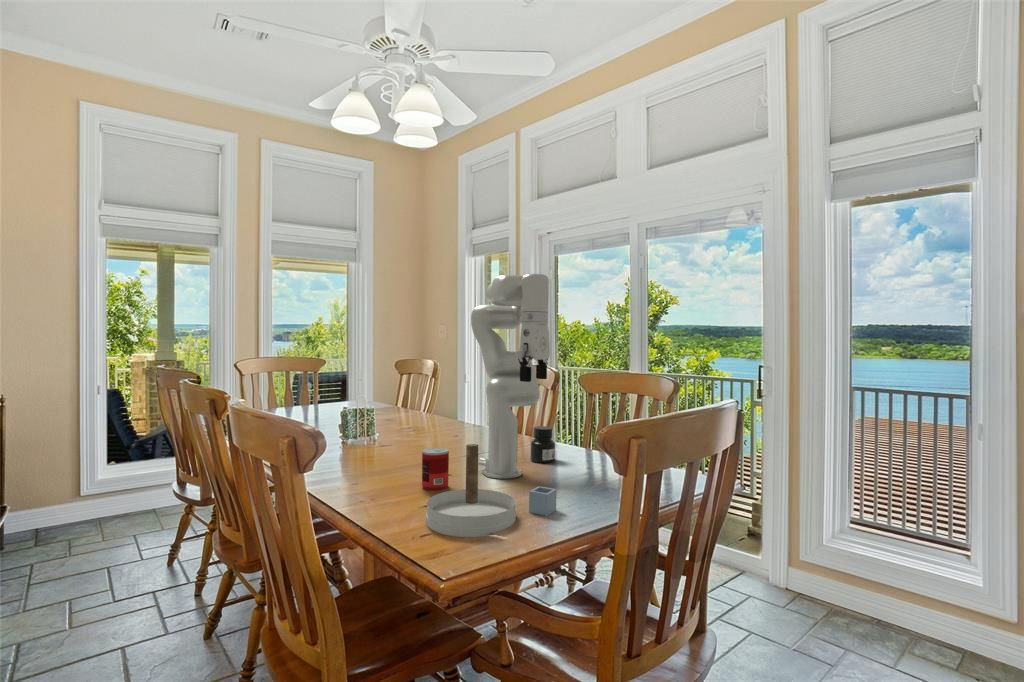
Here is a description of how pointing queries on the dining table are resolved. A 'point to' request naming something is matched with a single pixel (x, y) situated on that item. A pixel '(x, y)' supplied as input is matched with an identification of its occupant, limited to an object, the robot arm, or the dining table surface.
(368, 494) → the dining table surface
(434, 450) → the canned food
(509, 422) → the robot arm
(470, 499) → the dowel
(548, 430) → the ink bottle
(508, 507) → the dish
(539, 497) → the cup
